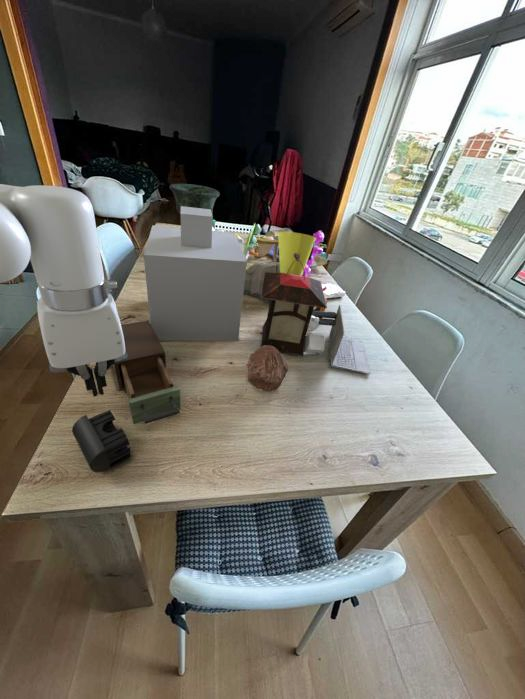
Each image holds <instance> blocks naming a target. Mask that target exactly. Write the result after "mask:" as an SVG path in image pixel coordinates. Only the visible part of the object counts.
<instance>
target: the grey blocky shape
mask: <svg viewBox="0 0 525 699" xmlns="http://www.w3.org/2000/svg"><path fill="white" fill-rule="evenodd" d="M179 214H180V227H178V226H177V227H175V226H164V225H153V224H152V226H151V229H150V232H149V236H148V238H147V242H146V245H145V248H144V252H143V263H144V273H145V283H146V294H147V304H148V312H149V314H148V315H149V322H150V324H151V326H152V328H153V330H154V332H155V334H156V336H157V337H158V339H159V341H239V337H240V336H239V335H240V326H241V317H242V309H243V301H244V300H243V299H244V293H243V292H244V284H245V275H246V270H247V267H248V266H247V265H248V259H247V260H246V258H245V256H244V253H243V251H242V249H241V247H240V244H239V242H238V240H237V237H236V235H235V234H236V233H235V232H231V231H224V232H221V231H212V224H213V219H214V216H213V213H212V212H211V209H202V208H193V207H183V206H181V213H179Z"/></svg>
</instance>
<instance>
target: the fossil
mask: <svg viewBox="0 0 525 699" xmlns="http://www.w3.org/2000/svg"><path fill="white" fill-rule="evenodd" d="M279 232H292V231H291V230H289V229H287V228H286V229H277V230H268V231H267V232H265V237H266V236H268V237H270V236H271V235H273V239H274V240H278V241H279V239H278V233H279Z"/></svg>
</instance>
